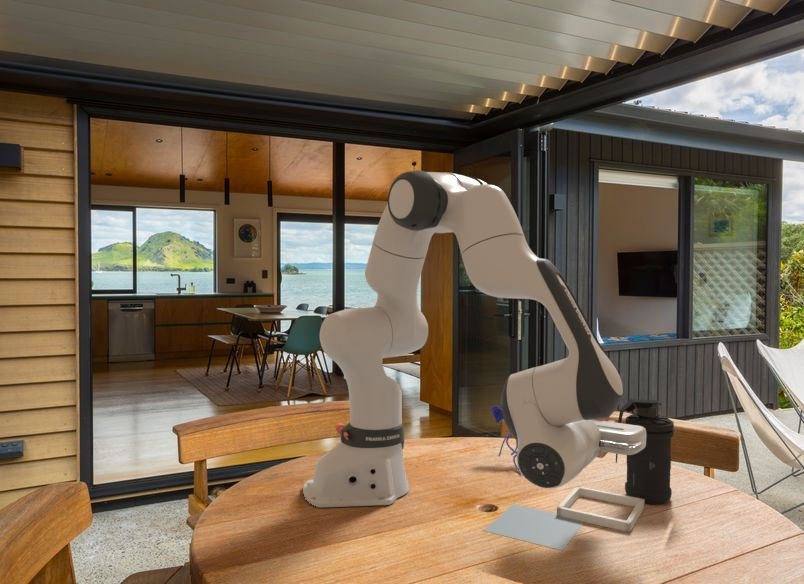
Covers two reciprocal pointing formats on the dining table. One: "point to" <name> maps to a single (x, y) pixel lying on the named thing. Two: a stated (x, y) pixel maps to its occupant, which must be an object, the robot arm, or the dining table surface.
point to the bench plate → (535, 526)
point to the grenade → (649, 453)
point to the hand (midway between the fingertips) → (595, 422)
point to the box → (599, 519)
